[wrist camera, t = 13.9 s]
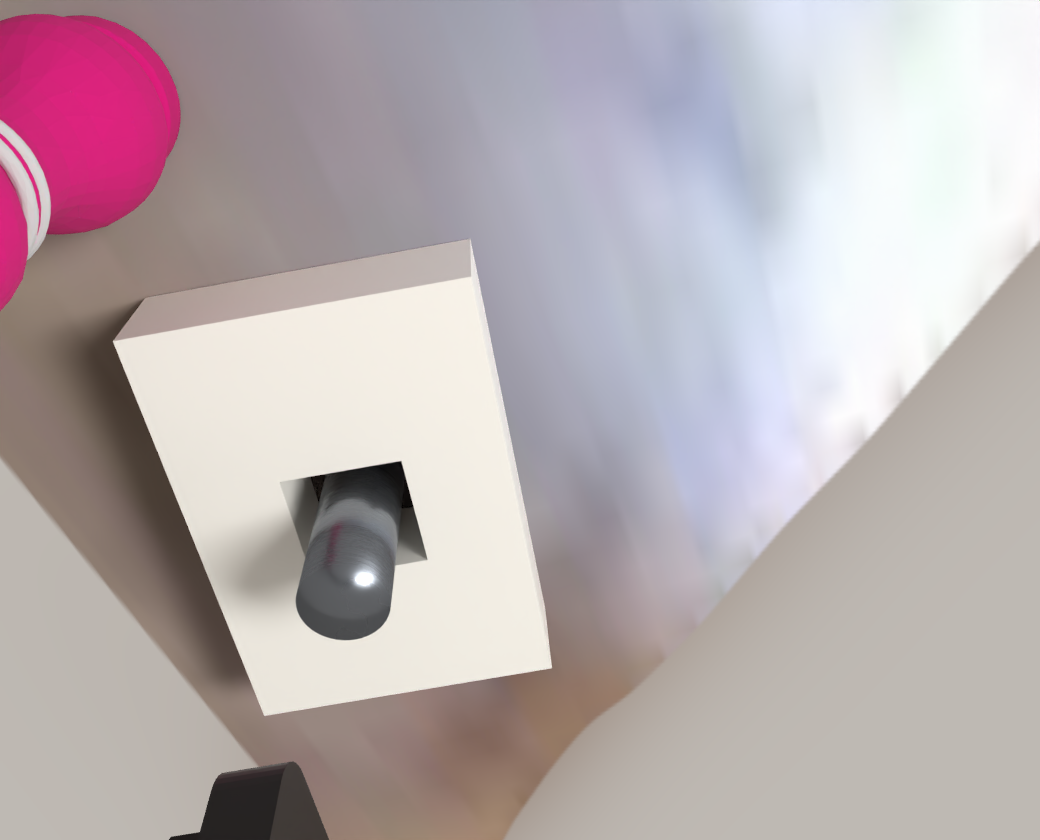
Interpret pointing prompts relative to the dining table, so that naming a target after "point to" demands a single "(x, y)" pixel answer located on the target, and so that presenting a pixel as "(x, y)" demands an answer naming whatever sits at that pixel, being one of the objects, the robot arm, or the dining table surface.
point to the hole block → (345, 465)
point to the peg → (352, 552)
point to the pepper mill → (76, 130)
